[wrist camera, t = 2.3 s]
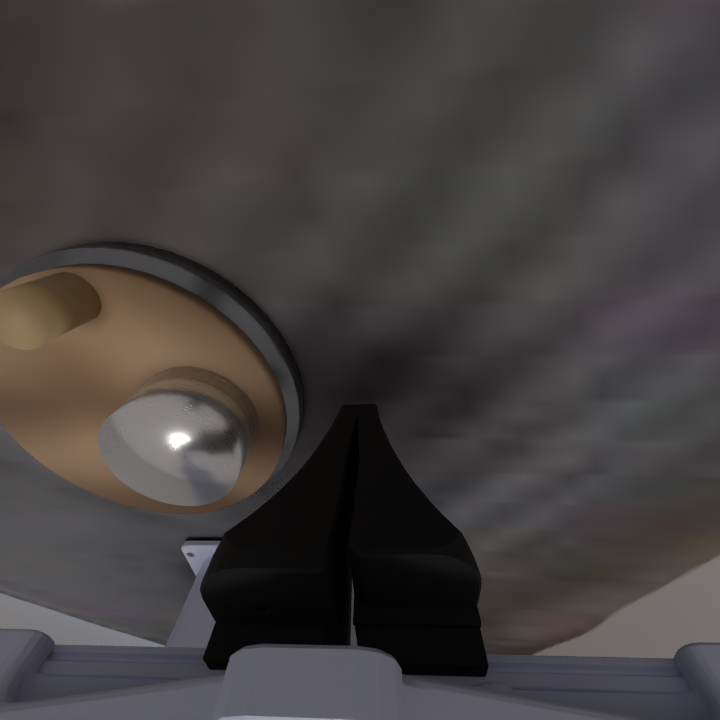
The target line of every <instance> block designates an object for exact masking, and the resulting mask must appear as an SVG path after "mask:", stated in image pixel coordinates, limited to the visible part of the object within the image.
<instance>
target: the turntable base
mask: <svg viewBox="0 0 720 720" xmlns="http://www.w3.org/2000/svg"><path fill="white" fill-rule="evenodd" d="M72 264H107V265H114V266H121V267H127V268H131V269H135V270H138V271H142V272H146V273H150V274H152V275H155V276H157V277H160V278H163V279H165V280H168V281H170V282H173V283H175V284H177V285H179V286H181V287H183V288H185V289H187V290H189V291H190V292H192V293H194V294H196V295H198V296H199V297H201V298H202V299H204V300H205V301H207V302H208V303H210V304H211V305H213V306H215V307H216V308H217V309H218V310H220V311H221V312H222V313H223V314H225V315H226V316H227V317H228V318H230V319H231V320H232V321H233V322H234V323H235V324H236V325H237V326H238V327H239V328H240V329H241V330H242V331H243V332H244V333H245V334H246V335H247V336H248V337H249V338H250V339H251V340H252V341H253V343H254V344H255V345H256V346H257V348H258V349H259V350H260V351H261V353H262V354H263V355H264V357H265V359H266V360H267V362H268V363H269V365H270V367H271V368H272V370H273V372H274V374H275V376H276V378H277V381H278V383H279V385H280V387H281V391H282V394H283V398H284V401H285V406H286V414H287V432H286V437H285V442H284V446H283V449H282V452H281V455H280V457H279V460H278V462H277V465H276V467H275V469H274V471H273V472H272V474H271V476H270V477H269V479H268V480H267V481H266V482H268V481H269V480H270V479H272V478H273V477H274V476H275V475H276V474H277V473H278V472H279V471H280V470H281V469H282V467H283V466H284V464H285V463H286V461H287V460H288V458H289V457H290V454H291V452H292V450H293V447H294V445H295V442H296V439H297V435H298V432H299V429H300V425H301V420H302V416H303V403H304V399H303V389H302V383H301V379H300V375H299V371H298V368H297V365H296V363H295V360H294V358H293V356H292V353H291V351H290V349H289V348H288V346H287V344H286V342H285V341H284V339H283V337H282V335H281V334H280V333H279V331H278V330H277V329H276V327H275V326H274V325H273V323H272V322H271V321H270V319H269V318H268V317H267V316H266V315H265V314H264V313H263V312H262V311H261V310H260V308H259V307H258V306H257V305H256V304H255V303H254V302H253V301H252V300H250V299H249V298H248V297H247V296H246V295H245V294H243V293H242V292H241V291H240V290H239V289H238V288H236V287H235V286H234V285H232V284H231V283H229V282H228V281H226V280H225V279H223V278H222V277H220V276H219V275H217V274H216V273H214V272H212V271H210V270H209V269H207V268H205V267H203V266H201V265H199V264H197V263H195V262H193V261H191V260H188V259H186V258H183V257H181V256H178V255H176V254H173V253H171V252H167V251H164V250H160V249H156V248H153V247H149V246H144V245H137V244H130V243H110V242H100V243H93V244H86V245H79V246H75V247H71V248H67V249H63V250H58V251H54V252H51V253H48V254H45V255H42V256H39V257H35V258H33V259H31V260H29V261H27V262H26V263H24V264H22V265H20V266H18V267H17V268H15V269H14V270H13V271H12V272H11V273H10V274H8V275H7V276H6V277H5V278H4V279H3V280H2V281H1V282H0V289H1V288H2V287H3V286H5V285H7V284H9V283H11V282H13V281H15V280H17V279H18V278H21V277H24V276H28V275H31V274H34V273H37V272H41V271H44V270H48V269H51V268H54V267H58V266H65V265H72ZM266 482H265V483H266ZM265 483H264V484H265ZM264 484H263V485H264Z"/></svg>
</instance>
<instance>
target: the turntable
mask: <svg viewBox="0 0 720 720" xmlns="http://www.w3.org/2000/svg"><path fill="white" fill-rule="evenodd" d="M180 366H192V367H199V368H203V369H207V370H210V371H213V372H216V373H218V374H220V375H222V376H224V377H226V378H227V379H229V380H231V381H232V382H234V383H235V384H236V385H238V386H239V387H240V388H241V389H242V390H243V391H244V392H245V393H246V394H247V396H248V397H249V398H250V400H251V401H252V403H253V405H254V407H255V408H256V411H257V414H258V419H259V429H258V433H257V436H256V439H255V441H254V443H253V445H252V448H251V450H250V452H249V454H248V456H247V459H246V461H245V463H244V465H243V467H242V470H241V472H240V474H239V476H238V478H237V481H236V483H235V485H234V486H233V488H232V490H231V491H230V492H229V493H228V494H227V495H226V496H224V497H223V498H221V499H219V500H218V501H215V502H213V503H209V504H206V505H199V506H180V505H173V504H168V503H164V502H160V501H157V500H154V499H151V498H149V497H146V496H144V495H142V494H140V493H138V492H136V491H135V490H133V489H131V488H130V487H128V486H127V485H125V484H124V483H123V482H122V481H120V480H119V479H118V478H117V477H116V476H115V475H114V474H113V473H112V472H111V471H110V470H109V468H108V467H107V466H106V464H105V463H104V461H103V459H102V457H101V455H100V452H99V449H98V443H97V437H98V432H99V429H100V427H101V425H102V424H103V422H104V421H105V420H106V419H107V418H108V417H109V416H110V415H111V414H112V413H113V412H114V411H116V410H117V409H118V408H119V407H120V406H121V405H122V404H123V403H124V402H125V401H127V400H128V399H129V398H130V397H131V396H132V395H133V394H134V393H135V392H136V391H138V390H139V389H140V388H141V387H142V386H143V385H144V384H145V383H146V382H147V381H149V380H150V379H151V378H152V377H153V376H154V375H156V374H157V373H159V372H161V371H163V370H165V369H168V368H173V367H180ZM0 423H1V425H2V426H3V427H4V428H5V429H6V431H7V432H8V433H9V434H10V435H11V436H12V437H13V438H14V439H15V440H16V441H17V442H18V443H19V444H20V445H21V446H22V447H23V448H24V449H25V450H26V451H27V452H28V453H29V454H31V455H32V456H33V457H34V458H35V459H37V460H38V461H39V462H40V463H42V464H43V465H45V466H46V467H47V468H49V469H50V470H52V471H53V472H54V473H56V474H58V475H59V476H61V477H63V478H64V479H66V480H68V481H69V482H71V483H73V484H75V485H77V486H79V487H81V488H83V489H84V490H87V491H89V492H91V493H93V494H96V495H98V496H100V497H103V498H105V499H108V500H111V501H114V502H117V503H120V504H123V505H127V506H131V507H134V508H139V509H144V510H149V511H156V512H164V513H182V514H184V513H200V512H207V511H213V510H217V509H221V508H225V507H228V506H230V505H233V504H235V503H238V502H240V501H242V500H243V499H245V498H247V497H249V496H250V495H252V494H253V493H254V492H255V491H257V490H258V489H259V488H260V487H261V486H262V485H263V484H264V483H265V482H266V481H267V480H268V479H269V477H270V476H271V474H272V472H273V471H274V469H275V467H276V465H277V462H278V460H279V457H280V455H281V452H282V449H283V446H284V442H285V437H286V432H287V414H286V406H285V401H284V398H283V394H282V391H281V387H280V385H279V383H278V381H277V378H276V376H275V374H274V372H273V370H272V368H271V367H270V365H269V363H268V362H267V360H266V359H265V357H264V355H263V354H262V353H261V351H260V350H259V349H258V348H257V346H256V345H255V344H254V343H253V341H252V340H251V339H250V338H249V337H248V336H247V335H246V334H245V333H244V332H243V331H242V330H241V329H240V328H239V327H238V326H237V325H236V324H235V323H234V322H233V321H232V320H231V319H230V318H228V317H227V316H226V315H225V314H223V313H222V312H221V311H220V310H218V309H217V308H216V307H215V306H213V305H211V304H210V303H208V302H207V301H205V300H204V299H202V298H201V297H199V296H198V295H196V294H194V293H192V292H190V291H189V290H187V289H185V288H183V287H181V286H179V285H177V284H175V283H173V282H170V281H168V280H165V279H163V278H160V277H157V276H155V275H152V274H150V273H146V272H142V271H138V270H135V269H131V268H127V267H121V266H114V265H107V264H72V265H65V266H58V267H54V268H51V269H48V270H44V271H41V272H37V273H34V274H31V275H28V276H24V277H21V278H18V279H17V280H15V281H13V282H11V283H9V284H7V285H5V286H3V287H2V288H1V289H0Z"/></svg>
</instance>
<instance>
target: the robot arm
mask: <svg viewBox="0 0 720 720" xmlns="http://www.w3.org/2000/svg"><path fill="white" fill-rule="evenodd" d="M181 549H182V552H183V553H184V555H185V557H186V559H187V561H188V562H189V564H190V566H191V568H192V570H193V572H194V573H195V575H196V579H195V581H194V583H193V586H192V588H191V590H190V592H189V595H188V597H187V599H186V601H185V604H184V606H183V608H182V610H181V613H180V615H179V617H178V619H177V621H176V624H175V626H174V628H173V630H172V633H171V635H170V637H169V639H168V642H167V644H166V646H165V647H135V646H92V645H91V646H90V645H55V643H54V641H53V640H52V639H51V638H50V637H49V636H48V635H47V634H45V633H43V632H40V631H37V630H31V629H0V720H720V643H691V644H688V645H685V646H683V647H681V648H680V649H679V650H678V651H677V652H676V654H675V656H674V659H663V658H621V657H576V656H533V655H489V654H486V652H485V648H484V644H483V639H482V635H481V631H480V628H481V620H480V616H479V611H478V607H477V605H478V600H479V595H480V591H481V576H480V572H479V569H478V566H477V564H476V561H475V559H474V556H473V554H472V552H471V550H470V548H469V546H468V544H467V542H466V540H465V538H464V536H463V534H462V533H461V532H460V531H459V530H458V529H457V528H456V527H455V526H454V525H453V524H452V523H451V522H450V521H449V520H448V519H447V518H446V517H444V516H443V515H442V514H441V512H440V511H439V510H438V509H437V508H436V507H435V506H434V505H433V504H432V503H431V502H430V501H429V499H428V498H427V497H426V496H425V495H424V493H423V492H422V491H421V490H420V489H419V487H418V486H417V485H416V484H415V482H414V481H413V480H412V478H411V477H410V476H409V474H408V473H407V471H406V470H405V468H404V467H403V465H402V464H401V462H400V460H399V459H398V457H397V455H396V454H395V452H394V450H393V448H392V446H391V444H390V442H389V440H388V438H387V436H386V434H385V432H384V429H383V427H382V424H381V421H380V418H379V414H378V409H377V406H376V405H375V404H358V405H343V406H342V407H341V409H340V411H339V413H338V415H337V417H336V419H335V421H334V422H333V424H332V426H331V428H330V429H329V431H328V432H327V434H326V435H325V437H324V439H323V440H322V442H321V443H320V444H319V446H318V447H317V449H316V450H315V451H314V453H313V454H312V455H311V457H310V458H309V459H308V460H307V462H306V463H305V464H304V465H303V467H302V468H301V469H300V470H299V471H298V472H297V473H296V474H295V475H294V477H293V478H292V479H291V480H290V481H289V482H288V483H287V484H286V485H285V486H284V487H283V488H282V489H281V490H280V491H279V492H277V493H276V494H275V495H274V496H273V497H272V498H271V499H269V500H268V501H267V502H266V503H265V504H264V505H262V506H261V507H260V508H259V509H258V510H256V511H255V512H254V513H253V514H251V515H250V516H249V517H247V518H246V519H244V520H243V521H241V522H240V523H239V524H237V525H236V526H234V527H233V528H232V529H230V530H229V531H227V532H226V533H225V534H224V536H223V538H222V540H221V541H186V542H184V544H183V546H182V547H181ZM352 579H353V586H354V593H355V594H354V614H353V624H354V626H355V630H356V637H357V644H358V646H350V634H351V593H352Z"/></svg>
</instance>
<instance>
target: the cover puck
mask: <svg viewBox="0 0 720 720" xmlns="http://www.w3.org/2000/svg"><path fill="white" fill-rule="evenodd" d="M258 429H259V419H258V414H257V411H256V408H255V407H254V405H253V403H252V401H251V400H250V398H249V397H248V396H247V394H246V393H245V392H244V391H243V390H242V389H241V388H240V387H239V386H238V385H236V384H235V383H234V382H232V381H231V380H229V379H227V378H226V377H224V376H222V375H220V374H218V373H216V372H213V371H210V370H207V369H203V368H199V367H192V366H180V367H173V368H168V369H165V370H163V371H161V372H159V373H157V374H156V375H154V376H153V377H152V378H151V379H150V380H149V381H147V382H146V383H145V384H144V385H143V386H142V387H141V388H140V389H139V390H138V391H136V392H135V393H134V394H133V395H132V396H131V397H130V398H129V399H128V400H127V401H125V402H124V403H123V404H122V405H121V406H120V407H119V408H118V409H117V410H116V411H114V412H113V413H112V414H111V415H110V416H109V417H108V418H107V419H106V420H105V421H104V422H103V424H102V425H101V427H100V429H99V432H98V437H97V443H98V449H99V452H100V455H101V457H102V459H103V461H104V463H105V464H106V466H107V467H108V468H109V470H110V471H111V472H112V473H113V474H114V475H115V476H116V477H117V478H118V479H119V480H120V481H122V482H123V483H124V484H125V485H127V486H128V487H130V488H131V489H133V490H135V491H136V492H138V493H140V494H142V495H144V496H146V497H149V498H151V499H154V500H157V501H160V502H164V503H168V504H173V505H180V506H199V505H206V504H209V503H213V502H215V501H218V500H219V499H221V498H223V497H224V496H226V495H227V494H228V493H229V492H230V491H231V490H232V488H233V486H234V485H235V483H236V481H237V478H238V476H239V474H240V472H241V470H242V467H243V465H244V463H245V461H246V459H247V456H248V454H249V452H250V450H251V448H252V445H253V443H254V441H255V439H256V436H257V433H258Z"/></svg>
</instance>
